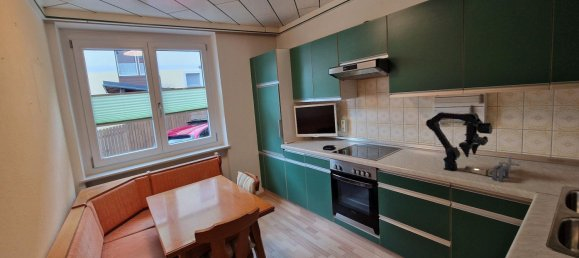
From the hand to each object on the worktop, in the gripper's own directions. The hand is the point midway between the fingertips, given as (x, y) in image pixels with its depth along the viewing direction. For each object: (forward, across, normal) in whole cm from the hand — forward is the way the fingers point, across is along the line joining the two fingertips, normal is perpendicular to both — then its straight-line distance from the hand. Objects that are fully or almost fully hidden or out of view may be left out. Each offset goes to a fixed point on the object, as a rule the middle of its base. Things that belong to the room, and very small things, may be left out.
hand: (470, 155), depth 166 cm
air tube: (+11, 0, -5) cm, 12 cm away
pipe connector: (+12, +19, -14) cm, 26 cm away
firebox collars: (+12, 0, -16) cm, 20 cm away
